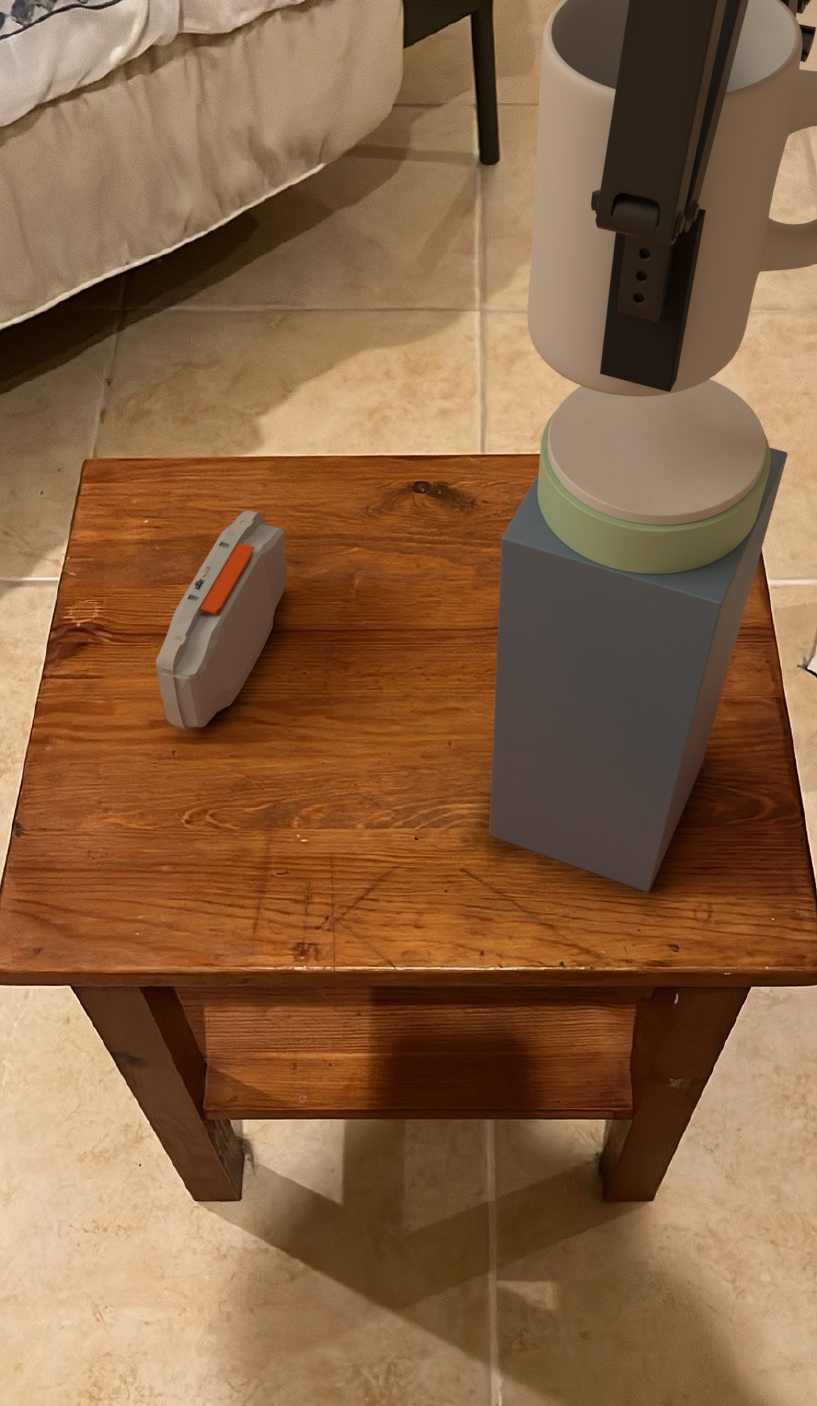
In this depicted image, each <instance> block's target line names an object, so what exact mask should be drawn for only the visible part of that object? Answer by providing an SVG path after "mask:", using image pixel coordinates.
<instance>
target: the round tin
mask: <svg viewBox="0 0 817 1406" xmlns="http://www.w3.org/2000/svg"><path fill="white" fill-rule="evenodd" d="M770 448H771V447H770V445H769V440H768V438H767V435H766V433H765V430H764V427H763V425H762V423H761V421H760V419H759V417H758V416H757V414H756V412H755V411H754V410H753V408H752V407H751V406H750V405H749V404H748V403H747V402H746V401H745V400H744V399H743V398H742V397H741V396H739V395H738V394H737V393H736V392H734V391H733V390H732V389H730V388H728V387H727V386H725V385H723V384H721V383H719V382H717V381H715V380H713V379H711V378H710V379H708V380H707V381H705V382H703V383H701V384H699V385H696V386H694V387H691V388H689V389H686V390H683V391H679V392H675V393H671V394H665V395H658V396H644V397H635V396H621V395H612V394H608V393H603V392H598V391H595V390H592V389H589V388H586V387H583V386H581V385H579V387H577V388H575V389H574V390H573V391H572V392H571V393H569V394H568V395H567V396H566V397H565V398H564V399H563V400H562V402H560V404H559V406H557V408H556V409H555V410H554V411H553V413H552V414H551V416H550V417H549V419H548V420H547V422H546V424H545V426H544V429H543V431H542V434H541V438H540V447H539V463H538V473H539V475H538V474H537V475H538V489H537V494H538V503H539V506H540V509H541V513H542V515H543V517H544V519H545V521H546V523H547V524H548V526H549V527H550V528H551V530H552V531H553V533H554V534H555V535H556V536H557V537H558V538H559V539H560V540H561V541H562V542H563V543H564V544H566V545H567V546H568V547H569V548H571V549H572V550H573V551H575V552H577V553H578V554H580V555H582V556H583V557H585V558H587V559H589V560H591V561H593V562H596V563H598V564H601V565H604V566H607V567H609V568H613V569H617V570H621V571H626V572H633V573H639V574H670V573H677V572H684V571H688V570H692V569H696V568H699V567H702V566H705V565H707V564H710V563H712V562H714V561H716V560H718V559H720V558H722V557H724V556H725V555H727V554H728V553H729V552H731V551H732V550H734V549H735V548H736V547H737V546H738V545H739V544H740V543H741V542H742V541H743V540H744V539H745V538H746V536H747V535H748V534H749V533H750V531H751V529H752V527H753V525H754V523H755V521H756V518H757V515H758V512H759V508H760V504H761V500H762V496H763V493H764V489H765V485H766V481H767V478H768V474H769V469H770V462H771V458H770Z"/></svg>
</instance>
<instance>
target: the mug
mask: <svg viewBox="0 0 817 1406" xmlns="http://www.w3.org/2000/svg"><path fill="white" fill-rule="evenodd" d="M628 6H629V0H561V1H560V3H558V4H557V6H556V7H555V8H554V9H553V10H552V12H551V13H550V15H549V17H548V18H547V21H546V23H545V27H544V29H543V34H542V42H541V53H540V71H539V72H540V73H539V91H538V93H539V94H538V113H537V114H538V115H537V132H536V133H537V134H536V135H537V136H536V153H535V154H536V156H535V157H536V158H535V173H534V174H535V177H534V193H533V194H534V198H533V218H532V219H533V220H532V239H531V253H530V254H531V256H530V257H531V258H530V271H529V284H528V296H527V313H526V314H527V316H526V317H527V327H528V333H529V336H530V340H531V343H532V345H533V346H534V349H535V351H536V352H537V353H538V354H539V356H540V357H541V359H542V360H543V361H544V362H545V364H547V366H549V367H550V368H551V369H552V370H553V371H555V372H556V373H557V374H559V375H560V376H561V377H563V378H565V379H567V380H569V381H570V382H572V383H574V384H576V385H579V386H583V387H586V388H589V389H592V390H595V391H598V392H603V393H608V394H612V395H621V396H635V397H644V396H658V395H665V394H671V393H675V392H679V391H683V390H686V389H689V388H691V387H694V386H696V385H699V384H701V383H703V382H705V381H707V380H708V379H711V378H713V377H715V376H716V375H717V374H718V373H720V372H721V371H722V370H723V369H724V368H725V367H727V366H728V364H729V363H730V362H731V361H732V360H733V359H734V357H735V355H736V354H737V352H738V351H739V349H740V347H741V345H742V342H743V339H744V337H745V333H746V330H747V325H748V321H749V315H750V311H751V306H752V301H753V297H754V292H755V288H756V285H757V281H758V277H759V274H760V273H761V272H762V273H763V272H775V271H788V270H797V269H802V268H808V267H812V266H813V265H814V266H815V265H817V218H816V219H813V220H811V221H807V222H804V223H784V222H780V221H777V220H774V219H772V218H770V212H771V205H772V200H773V196H774V190H775V187H776V184H777V183H776V182H777V178H778V174H779V170H780V167H781V162H782V159H783V155H784V153H785V147H786V146H787V145H786V144H787V141H788V138H789V136H790V135H792V134H794V133H796V132H799V131H802V130H805V129H808V128H813V127H817V70H808V69H807V70H806V69H800V66H801V61H800V60H801V53H802V44H803V43H802V34H801V29H800V26H799V24H800V23H799V21H798V19H797V17H796V18H795V16H794V14H793V13H792V11H791V10H790V9H789V8H788V7H787V6H786V5H785V4H784V3H783V2H782V1H781V0H749V1H748V5H747V9H746V13H745V17H744V21H743V25H742V29H741V33H740V37H739V41H738V45H737V49H736V53H735V57H734V61H733V65H732V69H731V73H730V77H729V81H728V85H727V89H726V93H725V97H724V101H723V105H722V109H721V113H720V117H719V121H718V125H717V129H716V133H715V137H714V141H713V145H712V149H711V153H710V157H709V161H708V165H707V169H706V173H705V177H704V181H703V185H702V189H701V193H700V197H699V201H698V204H699V209H703V210H706V212H705V218H704V223H703V229H702V235H701V241H700V247H699V252H698V258H697V264H696V270H695V276H694V281H693V287H692V293H691V299H690V304H689V310H688V316H687V322H686V328H685V333H684V339H683V345H682V351H681V357H680V362H679V368H678V374H677V380H676V382H675V384H674V385H673V387H672V389H671V391H670V392H667V391H663V390H659V389H655V388H652V387H648V386H644V385H640V384H636V383H633V382H629V381H625V380H621V379H617V378H613V377H610V376H606V375H602V374H600V367H601V359H602V350H603V341H604V332H605V323H606V314H607V305H608V296H609V288H610V279H611V270H612V261H613V252H614V243H615V234H616V232H613V231H609V230H604V229H600V228H597V226H596V222H595V220H596V216H597V214H596V211H593V210H592V209H591V198H592V192H593V191H594V192H595V191H596V190H600V189H601V183H602V176H603V169H604V163H605V156H606V150H607V143H608V137H609V130H610V124H611V117H612V111H613V104H614V98H615V91H616V85H617V78H618V72H619V65H620V58H621V52H622V45H623V39H624V32H625V26H626V19H627V13H628Z"/></svg>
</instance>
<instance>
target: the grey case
mask: <svg viewBox="0 0 817 1406" xmlns="http://www.w3.org/2000/svg"><path fill="white" fill-rule="evenodd" d="M285 544H286V543H285V534H284V530H283V529H282V528H281V527H276V526H273V525H269V524H267V523H266V521H265V518H263V514H262V513H261V512H257V511H254V510H248V509H246V510H244V511H243V512H241V513H240V514H239V515H238V517H236V518H235V520H234V521H233V522H232V523H231V524H230V525H229V526H227V527H226V528H225V529H224V530H223V531H221V533H220V534H219V536H218V538H217V540H216V541H215V543H214V545H213V546H212V548H211V549H210V551H209V553H208V555H207V556H206V558H205V560H204V562H202V565H201V566H200V568H199V570H198V572H197V573H196V575H195V577H194V578H193V580H192V581H191V583H190V585H189V586H188V588H187V590H186V592H185V594H184V595H183V597H182V598H181V600H180V602H179V603H178V605H177V607H176V609H175V611H174V613H173V616H172V618H171V621H170V625H169V627H168V630H167V634H166V636H165V638H164V641H163V644H162V646H161V648H160V651H159V652H158V655H157V657H156V660H155V669H156V675H157V680H158V685H159V692H160V698H161V702H162V706H163V710H164V715H165V718H166V721H167V722H168V723H169V724H170V725H172V726H173V727H175V728H178V729H182V730H184V731H188V730H191V728H205V726H207V724H208V723H209V722H210V721H211V720H212V719H213V717H214V716H215V715H216V713H218V712H220V711H221V710H223V709H225V708H227V707H231V706H230V705H232V703H233V702H234V701H235V699H236V698H237V696H238V694H239V693H240V691H241V690H242V688H243V687H244V685H245V683H246V681H247V679H248V678H249V676H250V674H251V672H252V671H253V669H254V667H255V664H256V662H258V659H259V657H260V655H261V653H262V651H263V649H264V647H265V645H266V643H267V641H268V639H269V636H270V635H271V632H272V629H273V627H274V617H275V616H274V615H275V611H276V608H277V606H278V604H279V602H280V600H281V598H282V595H283V593H284V591H285V588H286V586H287V584H288V572H287V569H288V568H287V558H286V545H285Z"/></svg>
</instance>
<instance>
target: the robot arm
mask: <svg viewBox="0 0 817 1406" xmlns="http://www.w3.org/2000/svg"><path fill="white" fill-rule="evenodd" d="M748 1H749V0H629V6H628V13H627V19H626V26H625V32H624V39H623V45H622V52H621V58H620V65H619V72H618V78H617V85H616V91H615V98H614V104H613V111H612V117H611V124H610V130H609V137H608V143H607V150H606V156H605V163H604V169H603V176H602V183H601V189H600V190H596V191H595V192H594V191H593V192H592V198H591V209H592V210H593V211H596V214H597V216H596V220H595V222H596V226H597V228H600V229H604V230H609V231H613V232H616V234H615V243H614V252H613V261H612V270H611V279H610V288H609V296H608V305H607V314H606V323H605V332H604V341H603V350H602V359H601V367H600V374H602V375H606V376H610V377H613V378H617V379H621V380H625V381H629V382H633V383H636V384H640V385H644V386H648V387H652V388H655V389H659V390H663V391H667V392H670V391H671V389H672V387H673V385H674V384H675V382H676V380H677V374H678V368H679V362H680V357H681V351H682V345H683V339H684V333H685V328H686V322H687V316H688V310H689V304H690V299H691V293H692V287H693V281H694V276H695V270H696V264H697V258H698V252H699V247H700V241H701V235H702V229H703V223H704V218H705V212H706V210H703V209H699V204H698V201H699V197H700V193H701V189H702V185H703V181H704V177H705V173H706V169H707V165H708V161H709V157H710V153H711V149H712V145H713V141H714V137H715V133H716V129H717V125H718V121H719V117H720V113H721V109H722V105H723V101H724V97H725V93H726V89H727V85H728V81H729V77H730V73H731V69H732V65H733V61H734V57H735V53H736V49H737V45H738V41H739V37H740V33H741V29H742V25H743V21H744V17H745V13H746V9H747V5H748ZM781 1H782V2H783V3H784V4H785V5H786V6H787V7H788V8H789V9H790V10H791V11H792V13H793V14H794V16H795V18H796V19H797V14H799V15H800V14H801V15H803V14H804V12H805V9H806V7H807V6H808V5H809V4H810V3H811V0H781ZM799 26H800V29H801V34H802V43H803V44H802V53H801V60H800V63H806V62H807V61H808V58H809V55H810V53H811V50H812V47H813V43H814V40H815V35H816V31H817V27H816V26H812V25H807V24H800V23H799Z"/></svg>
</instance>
